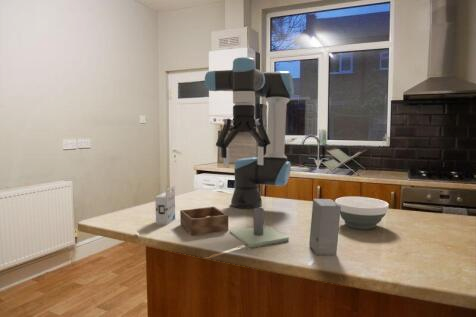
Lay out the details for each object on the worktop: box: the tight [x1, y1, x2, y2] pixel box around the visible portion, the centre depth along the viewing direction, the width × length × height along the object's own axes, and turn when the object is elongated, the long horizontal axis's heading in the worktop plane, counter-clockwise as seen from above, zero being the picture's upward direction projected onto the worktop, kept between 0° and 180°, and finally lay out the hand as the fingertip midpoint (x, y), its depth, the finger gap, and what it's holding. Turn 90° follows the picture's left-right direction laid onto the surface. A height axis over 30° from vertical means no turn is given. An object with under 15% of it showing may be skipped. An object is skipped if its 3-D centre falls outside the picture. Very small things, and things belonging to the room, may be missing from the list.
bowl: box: [334, 196, 389, 231], centre depth 130 cm, size 20×20×10 cm
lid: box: [229, 207, 290, 248], centre depth 116 cm, size 15×15×10 cm
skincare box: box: [308, 198, 341, 256], centre depth 104 cm, size 8×7×16 cm
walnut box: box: [179, 206, 229, 237], centre depth 125 cm, size 14×14×6 cm
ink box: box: [154, 185, 176, 226], centre depth 133 cm, size 9×5×15 cm, turn 168°
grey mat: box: [244, 240, 289, 249], centre depth 116 cm, size 15×15×1 cm
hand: (243, 166), depth 117 cm, fingers open, 13 cm apart
